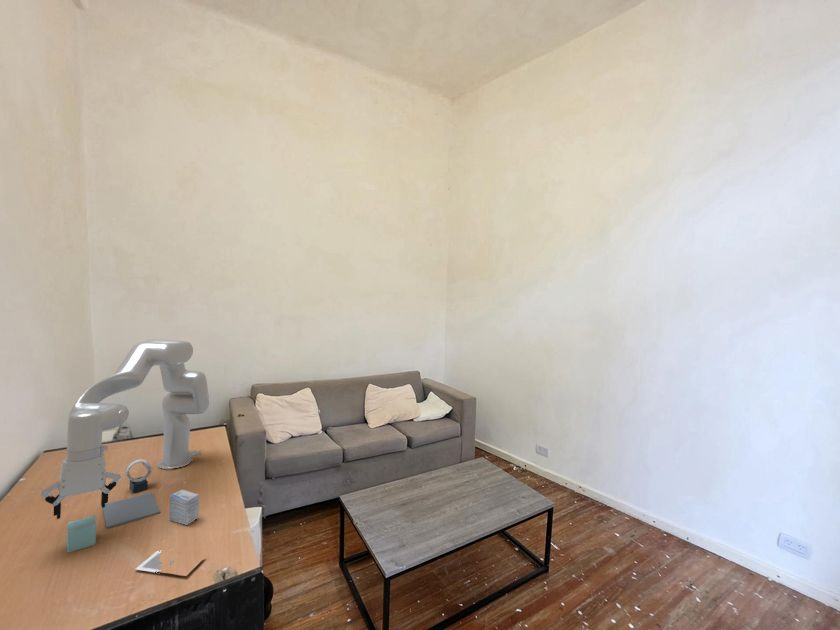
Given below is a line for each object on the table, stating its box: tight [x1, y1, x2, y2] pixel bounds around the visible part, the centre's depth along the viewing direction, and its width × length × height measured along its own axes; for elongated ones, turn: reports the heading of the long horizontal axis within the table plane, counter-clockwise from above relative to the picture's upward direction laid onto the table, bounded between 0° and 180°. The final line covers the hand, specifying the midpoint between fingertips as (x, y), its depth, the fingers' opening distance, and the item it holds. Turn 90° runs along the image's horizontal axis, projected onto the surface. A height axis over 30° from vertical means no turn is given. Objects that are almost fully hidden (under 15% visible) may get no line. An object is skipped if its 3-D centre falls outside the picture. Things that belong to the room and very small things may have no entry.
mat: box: [101, 492, 161, 530], centre depth 127 cm, size 14×16×1 cm
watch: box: [125, 458, 153, 494], centre depth 140 cm, size 6×8×11 cm
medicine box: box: [169, 489, 200, 526], centre depth 123 cm, size 8×4×9 cm, turn 71°
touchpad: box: [134, 550, 174, 574], centre depth 103 cm, size 8×15×2 cm, turn 84°
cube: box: [66, 515, 97, 554], centre depth 109 cm, size 6×6×6 cm
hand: (81, 511), depth 108 cm, fingers open, 9 cm apart
